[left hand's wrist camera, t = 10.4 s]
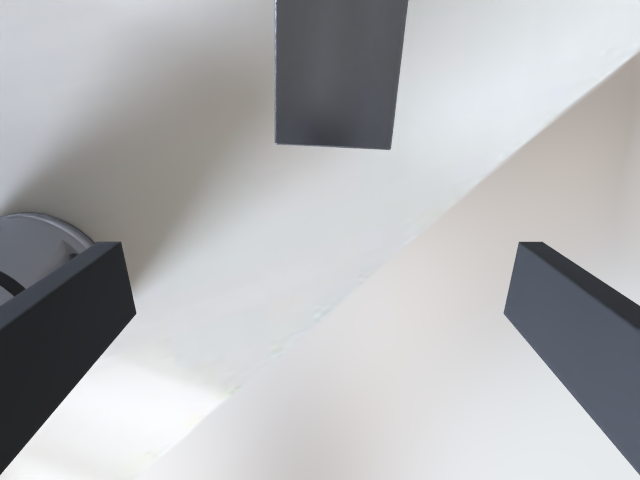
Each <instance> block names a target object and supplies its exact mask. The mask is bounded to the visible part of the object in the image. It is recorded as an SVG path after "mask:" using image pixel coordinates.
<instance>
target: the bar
mask: <svg viewBox="0 0 640 480" xmlns="http://www.w3.org/2000/svg"><path fill="white" fill-rule="evenodd" d="M407 6H408V0H275V144H280V145H300V146H321V147H341V148H362V149H382V150H390V149H391V143H392V134H393V126H394V117H395V109H396V100H397V92H398V83H399V75H400V66H401V58H402V49H403V40H404V32H405V23H406V15H407Z"/></svg>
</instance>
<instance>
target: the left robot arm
mask: <svg viewBox="0 0 640 480" xmlns="http://www.w3.org/2000/svg"><path fill="white" fill-rule="evenodd" d="M504 314H505V316H506V317H507V318H508V319H509V320H510V322H511V323H512V324H513V325H514V326H515V328H516V329H517V330H518V331H519V332H520V333H521V335H522V336H523V337H524V338H525V339H526V341H527V342H528V343H529V344H530V345H531V347H532V348H533V349H534V350H535V351H536V352H537V354H538V355H539V356H540V357H541V358H542V360H543V361H544V362H545V363H546V364H547V366H548V367H549V368H550V369H551V370H552V371H553V373H554V374H555V375H556V376H557V377H558V379H559V380H560V381H561V382H562V383H563V384H564V386H565V387H566V388H567V389H568V390H569V392H570V393H571V394H572V395H573V396H574V398H575V399H576V400H577V401H578V402H579V403H580V405H581V406H582V407H583V408H584V409H585V411H586V412H587V413H588V414H589V415H590V416H591V418H592V419H593V420H594V421H595V422H596V424H597V425H598V426H599V427H600V428H601V430H602V431H603V432H604V433H605V434H606V435H607V437H608V438H609V439H610V440H611V441H612V443H613V444H614V445H615V446H616V447H617V449H618V450H619V451H620V452H621V453H622V454H623V456H624V457H625V458H626V459H627V460H628V462H629V463H630V464H631V465H632V466H633V468H634V469H635V470H636V471H637V472H638V473H639V475H640V306H639V305H637V304H636V303H634V302H633V301H631V300H630V299H628V298H627V297H625V296H624V295H622V294H621V293H619V292H618V291H616V290H615V289H613V288H612V287H610V286H609V285H607V284H606V283H604V282H602V281H601V280H599V279H598V278H596V277H595V276H593V275H592V274H590V273H589V272H587V271H586V270H584V269H583V268H581V267H580V266H578V265H577V264H575V263H574V262H572V261H571V260H569V259H567V258H566V257H564V256H563V255H561V254H560V253H558V252H557V251H555V250H554V249H552V248H551V247H549V246H548V245H546V244H545V243H543V242H519V244H518V249H517V254H516V258H515V263H514V268H513V272H512V277H511V282H510V286H509V291H508V296H507V300H506V305H505V310H504ZM135 315H136V310H135V305H134V300H133V296H132V291H131V286H130V282H129V277H128V272H127V268H126V263H125V258H124V254H123V249H122V244H121V242H97V243H95V244H94V243H93V242H92V241H91V240H90V239H89V238H88V237H87V236H86V235H85V234H83V233H82V232H81V231H80V230H78V229H77V228H75V227H73V226H72V225H70V224H68V223H66V222H64V221H62V220H60V219H57V218H54V217H51V216H48V215H44V214H38V213H16V214H11V215H7V216H4V217H1V218H0V475H1V473H2V472H3V471H4V470H5V469H6V468H7V466H8V465H9V464H10V463H11V462H12V460H13V459H14V458H15V457H16V456H17V454H18V453H19V452H20V451H21V450H22V449H23V447H24V446H25V445H26V444H27V443H28V441H29V440H30V439H31V438H32V437H33V435H34V434H35V433H36V432H37V431H38V430H39V428H40V427H41V426H42V425H43V424H44V422H45V421H46V420H47V419H48V418H49V417H50V415H51V414H52V413H53V412H54V411H55V409H56V408H57V407H58V406H59V405H60V403H61V402H62V401H63V400H64V399H65V398H66V396H67V395H68V394H69V393H70V392H71V390H72V389H73V388H74V387H75V386H76V385H77V383H78V382H79V381H80V380H81V379H82V377H83V376H84V375H85V374H86V373H87V371H88V370H89V369H90V368H91V367H92V366H93V364H94V363H95V362H96V361H97V360H98V358H99V357H100V356H101V355H102V354H103V352H104V351H105V350H106V349H107V348H108V347H109V345H110V344H111V343H112V342H113V341H114V339H115V338H116V337H117V336H118V335H119V334H120V332H121V331H122V330H123V329H124V328H125V326H126V325H127V324H128V323H129V322H130V320H131V319H132V318H133V317H134V316H135Z"/></svg>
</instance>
